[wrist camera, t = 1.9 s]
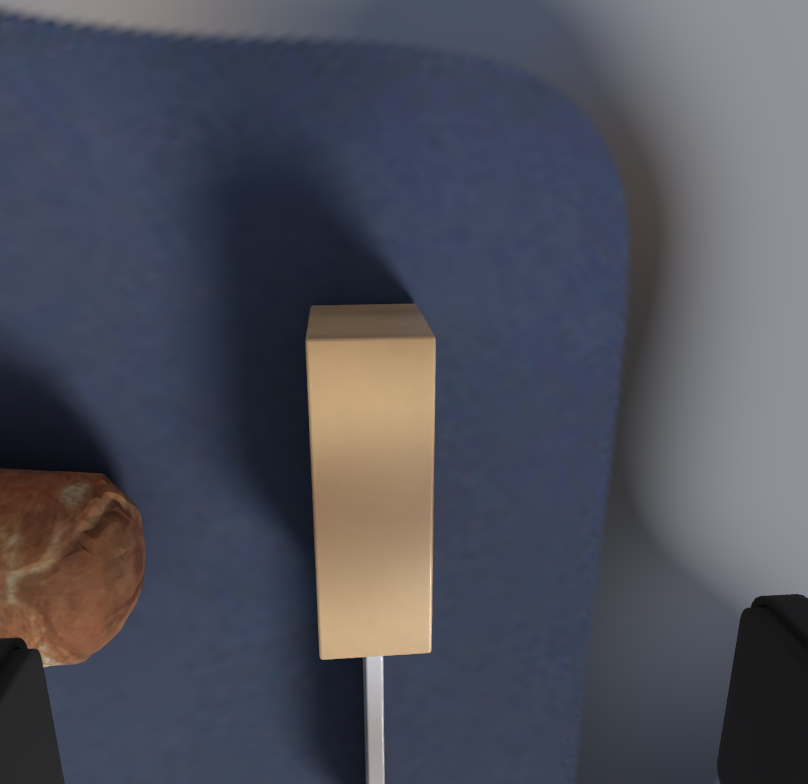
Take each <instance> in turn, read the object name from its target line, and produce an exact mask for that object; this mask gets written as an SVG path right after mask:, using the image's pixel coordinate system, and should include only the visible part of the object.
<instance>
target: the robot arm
mask: <svg viewBox="0 0 808 784" xmlns="http://www.w3.org/2000/svg"><path fill="white" fill-rule="evenodd" d="M717 769H718V776H719V780H720V783H721V784H808V598H806V597H805V596H803V595H798V594H791V595H773V596H760V597H757V598H755V600H754V601H753V603H752V605H751V608H747V609H744V611H743V612H742V615H741V618H740V624H739V630H738V636H737V643H736V649H735V655H734V661H733V667H732V673H731V680H730V687H729V692H728V698H727V704H726V711H725V717H724V723H723V729H722V735H721V742H720V748H719V754H718V760H717ZM0 784H65V783H64V778H63V772H62V767H61V761H60V756H59V750H58V745H57V739H56V734H55V728H54V723H53V718H52V712H51V707H50V701H49V696H48V690H47V685H46V679H45V674H44V668H43V663H42V658H41V654H40V652H39V651H38V649H35V648H32V649H28V648H27V644H26V643H25V641H24V640H23V639H22V638H19V637H16V638H0Z"/></svg>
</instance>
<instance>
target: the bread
mask: <svg viewBox="0 0 808 784" xmlns="http://www.w3.org/2000/svg"><path fill="white" fill-rule="evenodd" d="M144 569H145V540H144V535H143V531H142V517H141V514H140V512H139V510H138V508H137V507H136V505H135V504H134V503H133V502H132V500H131V499H130V498H129V497H128V496H127V495H126V494H125V493H124V492H123V491H122V490H120V489H119V488H118V487H117V486H115V485H114V484H113V483H112V482H111V481H110V479H109V478H108V477H107V476H105V475H104V474H102V473H85V472H65V471H39V470H25V469H0V638H16V637H19V638H22V639H23V640H24V641H25V643H26V644H27V648H28V649H32V648H35V649H38V651H39V652H40V654H41V658H42V663H43V667H47V666H54V665H68V664H77V663H80V662H83V661H86V660H87V659H88V658H89V657H90V656H91V655H92V654H93V653H95V652H96V651H98V650H100V649H101V648H102V647H104V646H105V645H106V644H107V643H108V642H109V641H110V640H111V639H112V638H113V637H114V636H115V635H116V634H117V633H118V632H119V631H120V630H121V629H122V628H123V626H124V624H125V622H126V620H127V618H128V617H129V615H130V614H131V612H132V611H133V609H134V607H135V605H136V603H137V600H138V598H139V595H140V592H141V589H142V584H143V578H144Z"/></svg>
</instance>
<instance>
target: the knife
mask: <svg viewBox="0 0 808 784" xmlns="http://www.w3.org/2000/svg"><path fill="white" fill-rule="evenodd" d="M305 347H306V369H307V391H308V414H309V436H310V458H311V480H312V502H313V525H314V547H315V569H316V591H317V613H318V635H319V657H320V659H322V660H326V659H342V658H357V657H363V683H364V728H365V772H366V784H385V772H384V687H383V656H389V655H404V654H420V653H430V652H431V650H432V586H433V512H434V439H435V365H436V338H435V336H434V334H433V332H432V331H431V329H430V327H429V326H428V324H427V322H426V320H425V319H424V317H423V315H422V313H421V312H420V310H419V308H418V306H417V305H416V304H367V305H315V306H311V308H310V313H309V320H308V327H307V334H306V341H305Z"/></svg>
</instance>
